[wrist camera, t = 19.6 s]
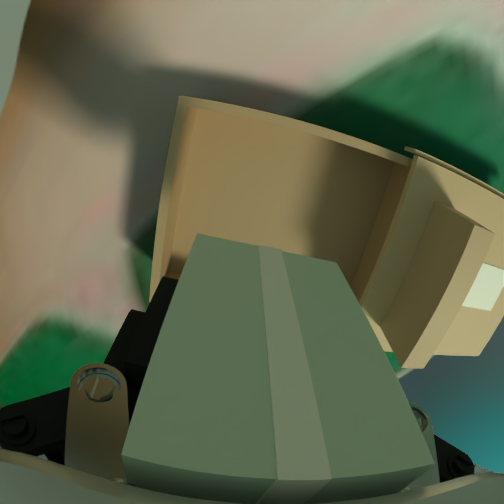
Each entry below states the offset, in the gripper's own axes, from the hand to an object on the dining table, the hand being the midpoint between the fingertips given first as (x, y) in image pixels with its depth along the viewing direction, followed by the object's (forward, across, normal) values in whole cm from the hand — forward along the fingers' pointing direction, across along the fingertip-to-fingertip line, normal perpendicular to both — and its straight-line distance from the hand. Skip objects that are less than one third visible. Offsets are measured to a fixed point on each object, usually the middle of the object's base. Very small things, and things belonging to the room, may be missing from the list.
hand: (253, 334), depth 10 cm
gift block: (+2, 0, 0) cm, 2 cm away
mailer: (+15, -2, 0) cm, 15 cm away
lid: (+11, -17, 0) cm, 20 cm away
